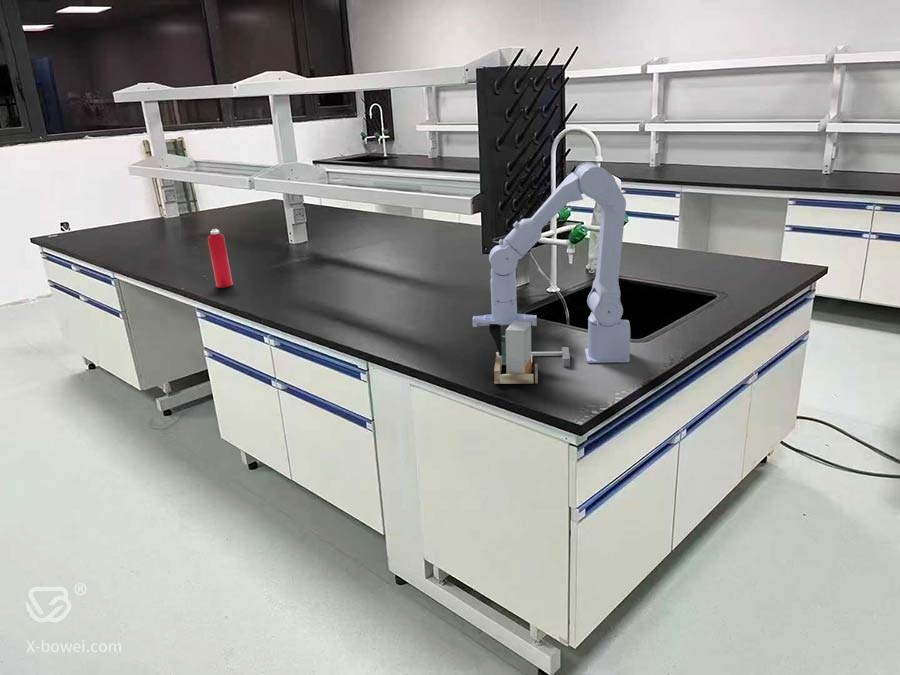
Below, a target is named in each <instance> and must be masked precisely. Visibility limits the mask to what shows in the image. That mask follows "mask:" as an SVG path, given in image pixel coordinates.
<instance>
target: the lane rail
mask: <svg viewBox="0 0 900 675" xmlns="http://www.w3.org/2000/svg"><path fill="white" fill-rule="evenodd" d="M569 350H570V348H569V347H568V346H561V351H531V355H532V357H549V356H550V357H551V356H552V357H555V356H556V357H557V356H558V357H559V356H560V357H561V358H562V367H563V368H568V367H569V368H570V367H571V357H570V351H569ZM498 353H499V352H498V351H497V352H495V354H496V355H495V357H497V354H498Z"/></svg>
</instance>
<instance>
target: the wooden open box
mask: <svg viewBox="0 0 900 675" xmlns="http://www.w3.org/2000/svg"><path fill="white" fill-rule="evenodd" d="M501 348H502V356H499V353H498V354H497V356H495V360H494V361H495V362H494V368H493V378H494V382H493V383H494V385H495V384H496V385H497V384H498V385H500V384H503V385H504V384H511V385H512V384H521V385H522V384H523V385H524V384H527V385H528V384H538V382H539V379H538V378H539V377H538V376H539V375H538V372H539V371H538V363H534V373H530V374H506V373H502V369H503V366H506V335H501ZM532 365H533V356H532V355H531V366H532Z"/></svg>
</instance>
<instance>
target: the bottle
mask: <svg viewBox="0 0 900 675" xmlns="http://www.w3.org/2000/svg"><path fill="white" fill-rule="evenodd" d="M209 233H210V235H209V236H207V243H208V248H209V254H210V258H211V259H210V260H211V264H212V270H213V276H214V280H215V287H216V288H218V289H219V288H220V289H222V288H223V289H224V288H229V287H232V286H233V285H234V282H233V278H232V272H231V267H230V263H229V262H230V261H229V258H228V257H229V256H228V250H227V245H226V239H225V236H224V234H222V233H220V230H219V229H217V228H212V229H211V231H209Z"/></svg>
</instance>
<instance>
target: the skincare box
mask: <svg viewBox="0 0 900 675" xmlns="http://www.w3.org/2000/svg"><path fill="white" fill-rule="evenodd" d="M505 336H506V365H505V367H506V371H505V372H506V373H505V374H532V365H531V352H532V325H531V322H519V321H513V322H512V323H511V324H510V325H508V327H507V328H506V329H505Z"/></svg>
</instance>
